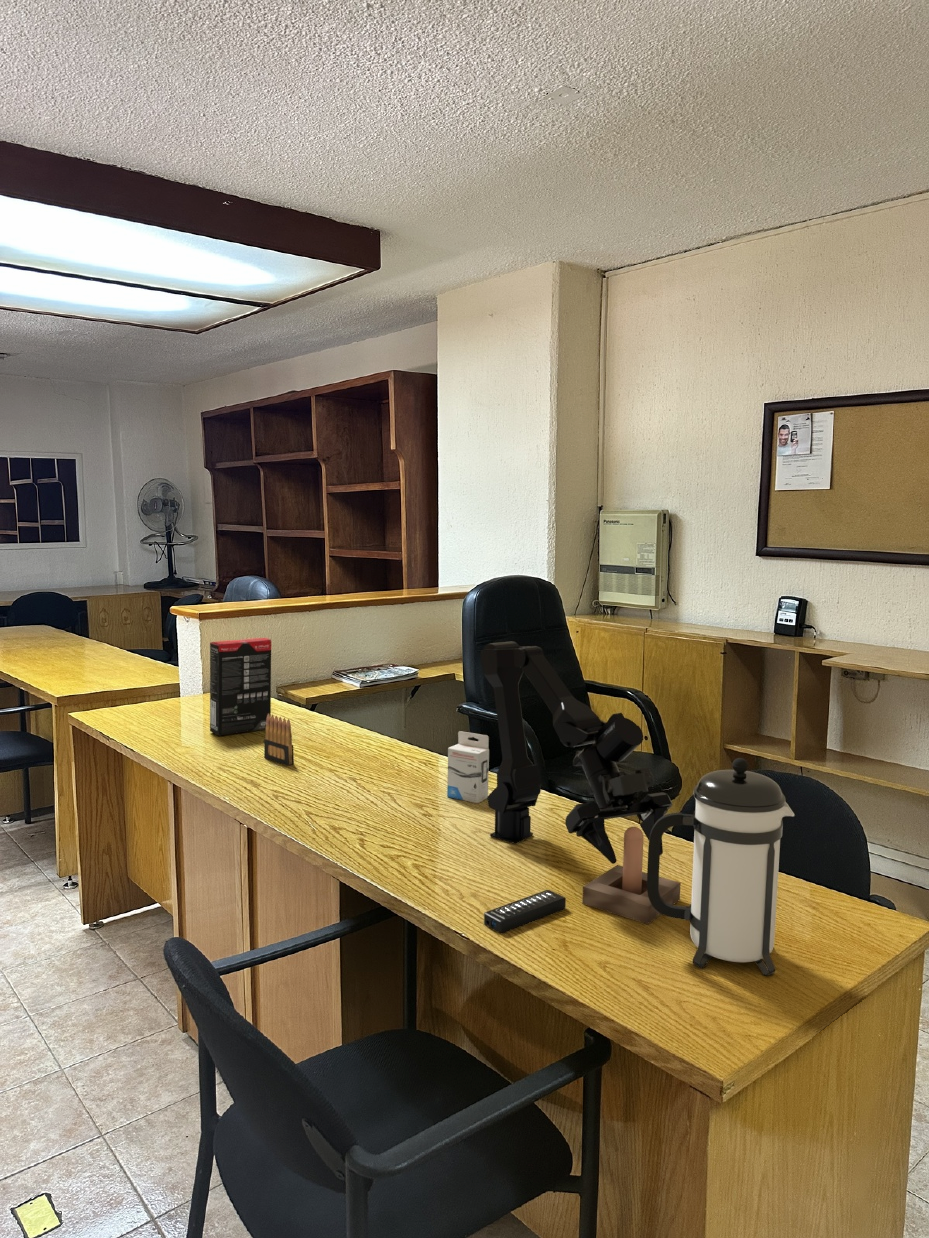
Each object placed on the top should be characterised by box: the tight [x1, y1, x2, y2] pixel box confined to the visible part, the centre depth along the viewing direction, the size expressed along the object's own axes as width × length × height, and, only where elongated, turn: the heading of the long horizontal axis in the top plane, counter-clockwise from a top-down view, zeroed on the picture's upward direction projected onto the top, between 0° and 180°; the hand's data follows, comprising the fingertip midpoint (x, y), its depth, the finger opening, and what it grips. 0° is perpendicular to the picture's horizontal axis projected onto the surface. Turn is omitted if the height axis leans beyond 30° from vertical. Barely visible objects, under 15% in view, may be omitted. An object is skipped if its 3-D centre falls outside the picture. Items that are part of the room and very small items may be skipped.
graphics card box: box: [209, 637, 272, 736], centre depth 261 cm, size 17×7×27 cm, turn 130°
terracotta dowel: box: [622, 826, 645, 895], centre depth 149 cm, size 3×3×13 cm
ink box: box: [446, 730, 490, 804], centre depth 203 cm, size 8×5×15 cm, turn 60°
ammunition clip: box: [263, 713, 295, 767], centre depth 231 cm, size 11×2×12 cm, turn 47°
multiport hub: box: [483, 889, 567, 935], centre depth 144 cm, size 4×14×2 cm, turn 129°
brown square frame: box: [582, 864, 682, 925], centre depth 150 cm, size 12×12×3 cm
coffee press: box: [646, 757, 795, 977], centre depth 130 cm, size 17×16×30 cm
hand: (638, 858), depth 148 cm, fingers open, 9 cm apart
